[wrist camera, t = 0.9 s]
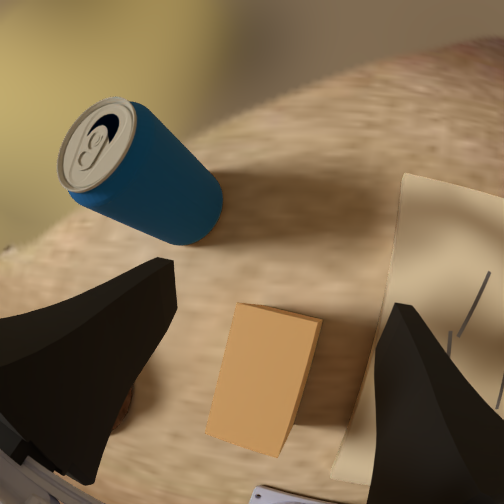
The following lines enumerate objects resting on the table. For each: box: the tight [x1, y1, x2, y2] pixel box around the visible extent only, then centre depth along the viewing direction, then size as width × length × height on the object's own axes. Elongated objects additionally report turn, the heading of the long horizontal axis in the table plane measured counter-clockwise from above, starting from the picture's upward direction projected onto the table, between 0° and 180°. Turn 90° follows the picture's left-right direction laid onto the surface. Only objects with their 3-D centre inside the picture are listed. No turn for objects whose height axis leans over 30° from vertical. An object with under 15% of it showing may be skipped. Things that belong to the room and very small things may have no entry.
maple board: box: [330, 173, 504, 485], centre depth 17 cm, size 22×16×2 cm
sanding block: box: [205, 303, 323, 458], centre depth 19 cm, size 8×4×6 cm, turn 165°
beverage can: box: [57, 97, 223, 245], centre depth 20 cm, size 6×6×12 cm
